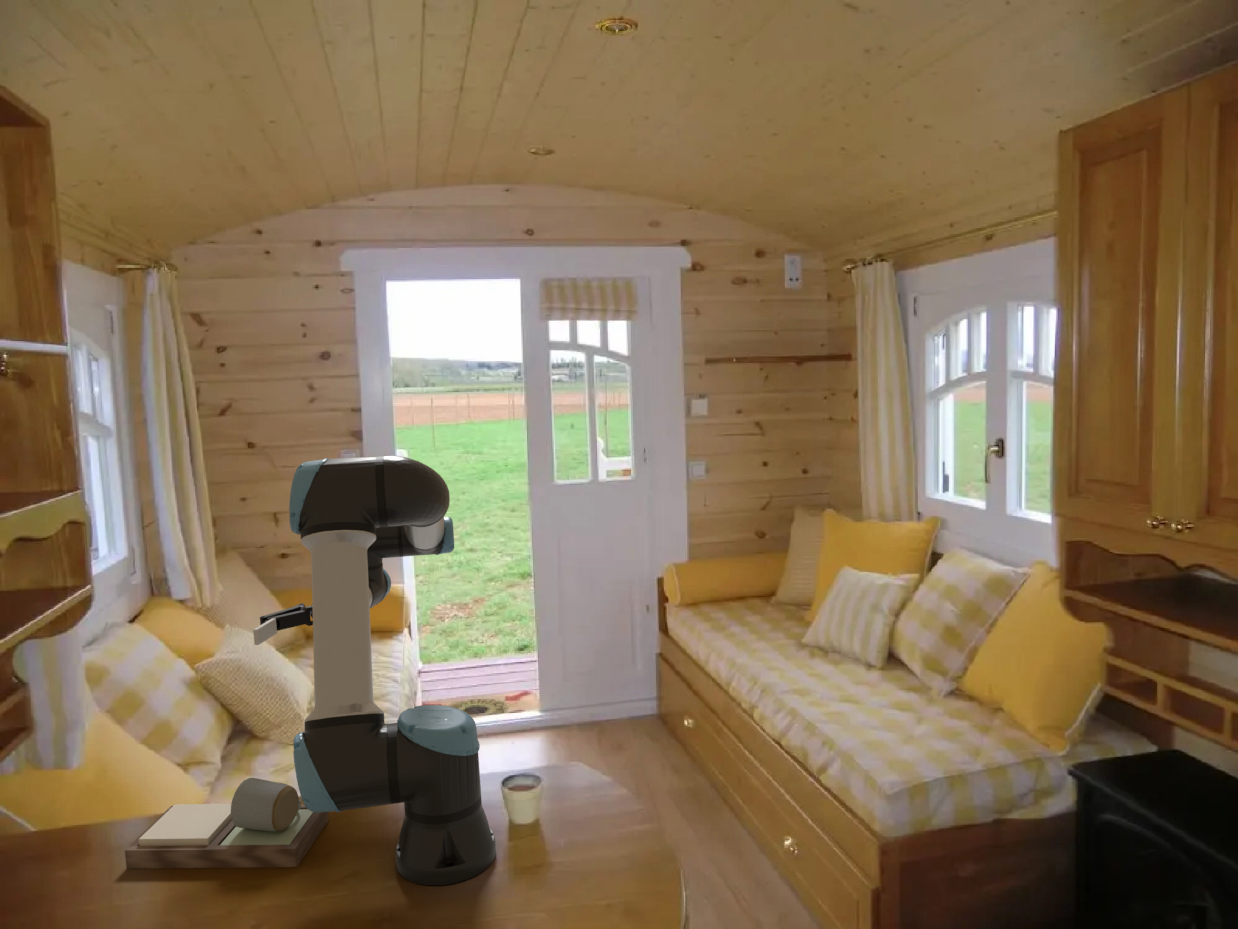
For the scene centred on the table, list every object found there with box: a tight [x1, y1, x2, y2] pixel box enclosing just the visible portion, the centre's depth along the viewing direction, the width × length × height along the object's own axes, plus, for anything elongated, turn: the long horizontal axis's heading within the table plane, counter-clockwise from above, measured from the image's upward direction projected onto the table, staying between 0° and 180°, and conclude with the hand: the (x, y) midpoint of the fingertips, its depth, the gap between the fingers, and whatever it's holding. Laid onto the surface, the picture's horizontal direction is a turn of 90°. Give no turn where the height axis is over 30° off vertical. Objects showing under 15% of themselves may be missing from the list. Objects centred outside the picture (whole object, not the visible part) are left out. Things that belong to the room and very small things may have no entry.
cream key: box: [139, 803, 232, 846], centre depth 151 cm, size 11×11×3 cm
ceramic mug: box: [230, 777, 302, 832], centre depth 151 cm, size 11×8×8 cm
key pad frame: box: [124, 803, 330, 870], centre depth 151 cm, size 27×14×3 cm, turn 87°
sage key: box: [220, 809, 314, 845], centre depth 151 cm, size 11×11×3 cm
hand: (293, 637), depth 160 cm, fingers open, 13 cm apart
